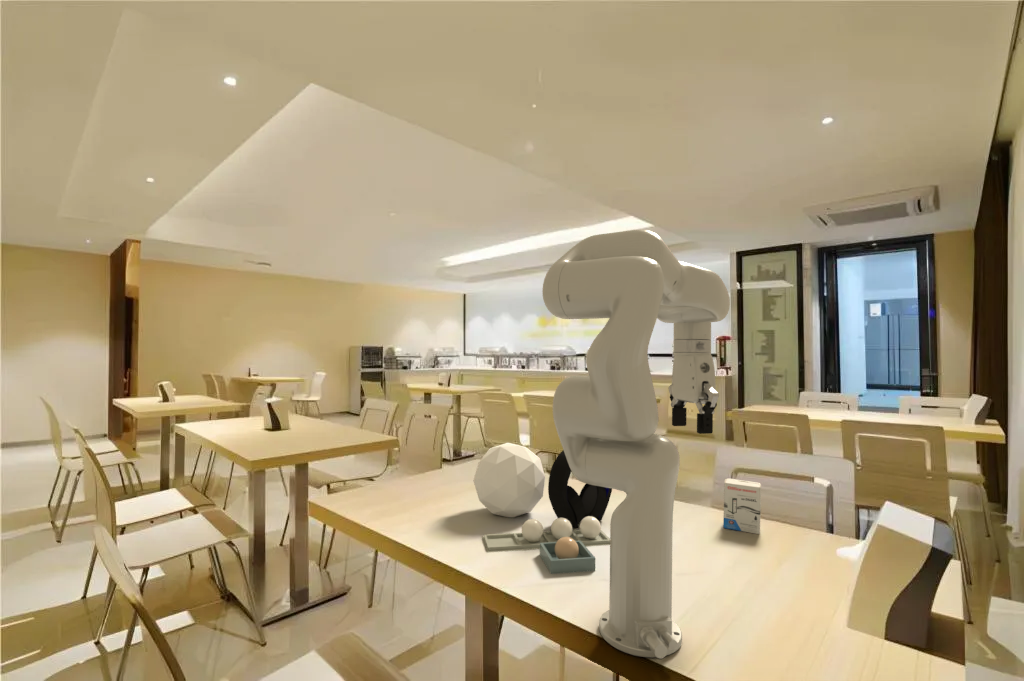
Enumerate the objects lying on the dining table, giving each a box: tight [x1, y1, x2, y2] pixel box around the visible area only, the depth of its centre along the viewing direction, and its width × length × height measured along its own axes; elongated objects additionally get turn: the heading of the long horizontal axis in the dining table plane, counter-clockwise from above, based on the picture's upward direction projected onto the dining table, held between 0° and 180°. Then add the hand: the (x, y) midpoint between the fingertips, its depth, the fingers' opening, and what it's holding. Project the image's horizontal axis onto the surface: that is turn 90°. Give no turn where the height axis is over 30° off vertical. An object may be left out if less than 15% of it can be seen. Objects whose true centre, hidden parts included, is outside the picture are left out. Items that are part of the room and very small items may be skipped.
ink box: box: [722, 477, 762, 535], centre depth 125 cm, size 9×5×12 cm, turn 62°
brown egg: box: [555, 537, 579, 559], centre depth 102 cm, size 5×5×5 cm
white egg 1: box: [521, 518, 544, 542], centre depth 113 cm, size 5×5×5 cm
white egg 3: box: [579, 516, 602, 539], centre depth 116 cm, size 5×5×5 cm
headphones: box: [547, 450, 613, 529], centre depth 127 cm, size 19×7×20 cm, turn 129°
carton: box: [481, 529, 610, 553], centre depth 114 cm, size 9×29×1 cm, turn 101°
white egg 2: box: [550, 518, 573, 540], centre depth 114 cm, size 5×5×5 cm
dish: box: [539, 541, 596, 575], centre depth 102 cm, size 9×9×3 cm
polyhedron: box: [473, 442, 546, 518], centre depth 134 cm, size 19×20×20 cm
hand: (691, 429), depth 104 cm, fingers open, 9 cm apart
